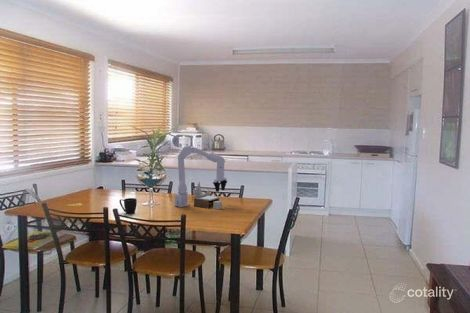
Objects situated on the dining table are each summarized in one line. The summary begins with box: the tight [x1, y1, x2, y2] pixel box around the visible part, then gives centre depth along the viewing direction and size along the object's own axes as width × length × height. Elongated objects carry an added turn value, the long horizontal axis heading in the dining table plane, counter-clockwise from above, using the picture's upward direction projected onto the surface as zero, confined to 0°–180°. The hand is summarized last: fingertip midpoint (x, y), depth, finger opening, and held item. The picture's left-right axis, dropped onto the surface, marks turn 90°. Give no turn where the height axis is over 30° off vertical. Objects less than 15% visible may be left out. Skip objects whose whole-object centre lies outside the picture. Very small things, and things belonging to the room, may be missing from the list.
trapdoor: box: [196, 194, 220, 201], centre depth 300 cm, size 12×12×2 cm
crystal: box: [192, 181, 210, 199], centre depth 319 cm, size 10×13×15 cm
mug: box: [118, 197, 138, 215], centre depth 272 cm, size 8×12×10 cm
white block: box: [212, 200, 223, 210], centre depth 290 cm, size 4×4×5 cm
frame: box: [193, 197, 220, 209], centre depth 300 cm, size 15×12×6 cm
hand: (220, 190), depth 302 cm, fingers open, 7 cm apart
